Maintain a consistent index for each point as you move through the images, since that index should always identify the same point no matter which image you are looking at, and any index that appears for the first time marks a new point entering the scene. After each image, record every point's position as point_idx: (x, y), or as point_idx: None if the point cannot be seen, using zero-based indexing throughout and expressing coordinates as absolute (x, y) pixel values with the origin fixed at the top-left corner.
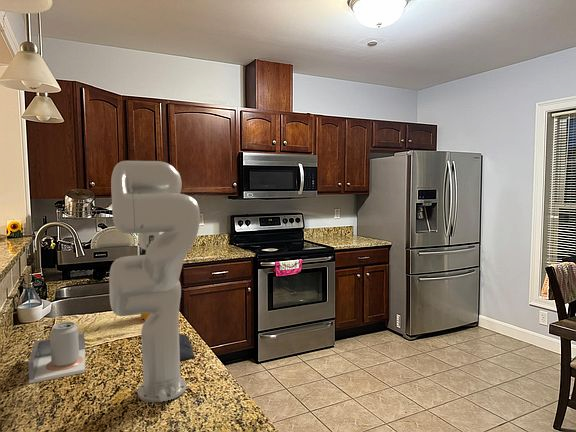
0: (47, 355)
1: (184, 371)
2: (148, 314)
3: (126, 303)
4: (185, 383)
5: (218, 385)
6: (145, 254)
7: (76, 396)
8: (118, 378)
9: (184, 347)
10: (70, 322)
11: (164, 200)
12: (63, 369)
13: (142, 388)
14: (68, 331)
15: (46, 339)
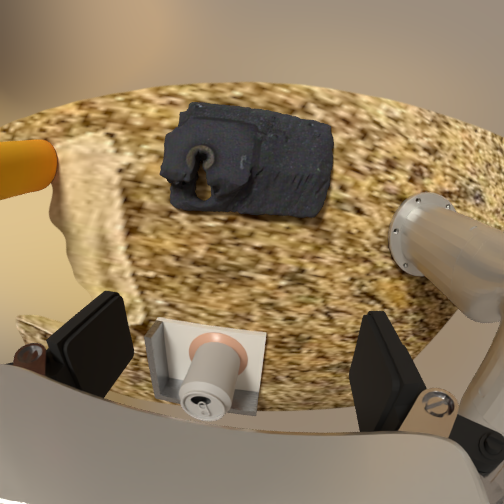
0: (168, 369)
1: (382, 171)
2: (46, 177)
3: None
4: (441, 197)
5: (459, 146)
6: (87, 381)
7: (348, 348)
8: (330, 289)
9: (282, 132)
10: (186, 396)
11: None
12: (247, 362)
13: (412, 267)
14: (227, 399)
15: (154, 386)
